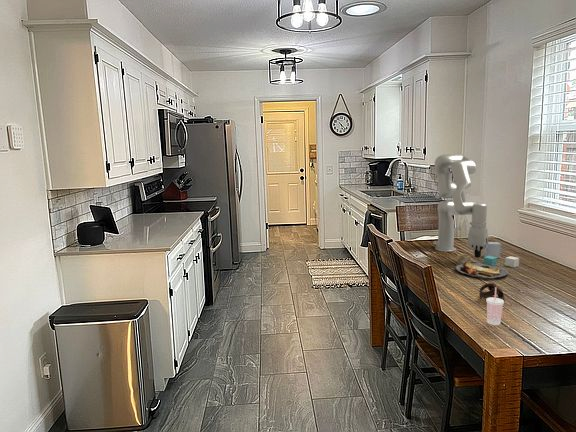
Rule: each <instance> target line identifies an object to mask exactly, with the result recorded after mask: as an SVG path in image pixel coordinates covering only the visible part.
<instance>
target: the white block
mask: <svg viewBox="0 0 576 432" xmlns="http://www.w3.org/2000/svg"><path fill="white" fill-rule="evenodd" d="M504 266H505V267H511V268H517V267H519V266H520V257H516V256H511V255H510V256H506V257H505V259H504Z"/></svg>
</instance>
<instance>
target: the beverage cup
mask: <svg viewBox="0 0 576 432" xmlns="http://www.w3.org/2000/svg"><path fill="white" fill-rule="evenodd" d="M496 288H497V287H495V295H494V296H493V297H489V298H485V299H486V323H488V324H489V325H492V326H499V325H501V321H502V315H503V306H504V304H505V302H504V300H503V299H502V298H498V297H497V294H496Z"/></svg>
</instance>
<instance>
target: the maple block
mask: <svg viewBox="0 0 576 432" xmlns="http://www.w3.org/2000/svg"><path fill="white" fill-rule="evenodd" d="M456 257H457V258H456V263H457V264H458V265H459V264H464V263H465V262H469V263H471V255H468V254H464V253H462V254H458V255H457V256H456Z"/></svg>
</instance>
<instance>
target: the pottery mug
mask: <svg viewBox="0 0 576 432" xmlns="http://www.w3.org/2000/svg"><path fill="white" fill-rule="evenodd" d="M495 287H497V288H496V296H497V298H500V299H502V300H504V303H505V301H506V300H505V295H504V292H503V289H501V287H499V286H498V285H497V284H495V283H494V282H489V283H485V284H483V285H482V286H480V288H479V298H480V299H482V298H483V299H487V298H489V297H494V296H495ZM486 288H487V289H488V291H484V290H485V289H486Z"/></svg>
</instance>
